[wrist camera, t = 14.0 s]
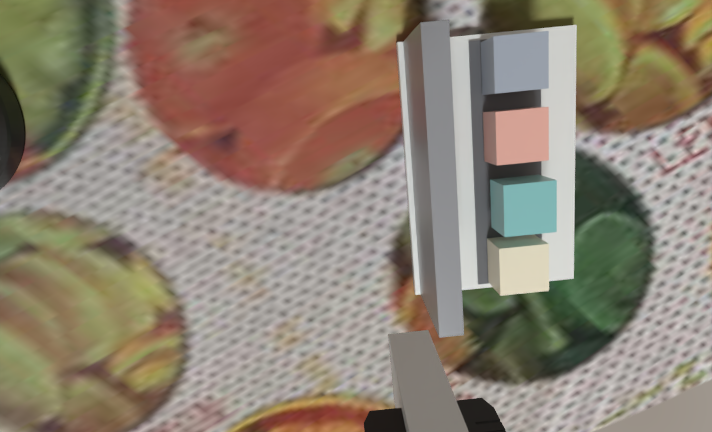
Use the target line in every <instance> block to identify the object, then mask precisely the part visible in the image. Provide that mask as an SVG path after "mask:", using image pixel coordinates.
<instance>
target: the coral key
mask: <svg viewBox="0 0 712 432" xmlns="http://www.w3.org/2000/svg"><path fill="white" fill-rule="evenodd" d="M483 134H484V161H485V162H488V163H491V164H494V165H497V166H498V165H508V164H518V163H528V162H538V161H547V160H549V107H528V108H518V109H508V110H498V111H488V112H483Z"/></svg>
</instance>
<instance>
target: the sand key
mask: <svg viewBox="0 0 712 432" xmlns="http://www.w3.org/2000/svg"><path fill="white" fill-rule="evenodd" d="M487 254H488V282H489V283H490V284H491V285H492V287H493V288H494V289H495V290H496V291H497V292H498V294H499V295H500V296H502V295H512V294H522V293H531V292H541V291H549V244H548V243H547V242H545V241H544V240H542V239H541V238H539V237H537V236H536V235H534V234H532V235H522V236H513V237H495V238H487Z"/></svg>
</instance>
